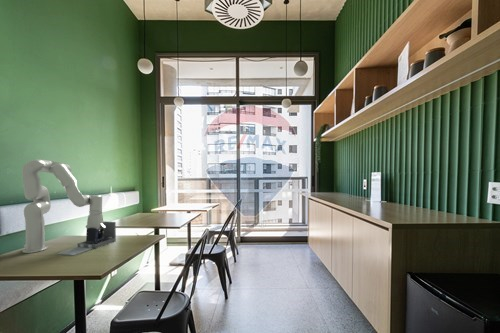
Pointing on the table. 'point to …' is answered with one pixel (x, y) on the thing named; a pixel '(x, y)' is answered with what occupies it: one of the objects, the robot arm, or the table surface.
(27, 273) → the table surface
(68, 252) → the rubber mat
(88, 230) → the small box
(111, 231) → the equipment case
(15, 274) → the table surface
